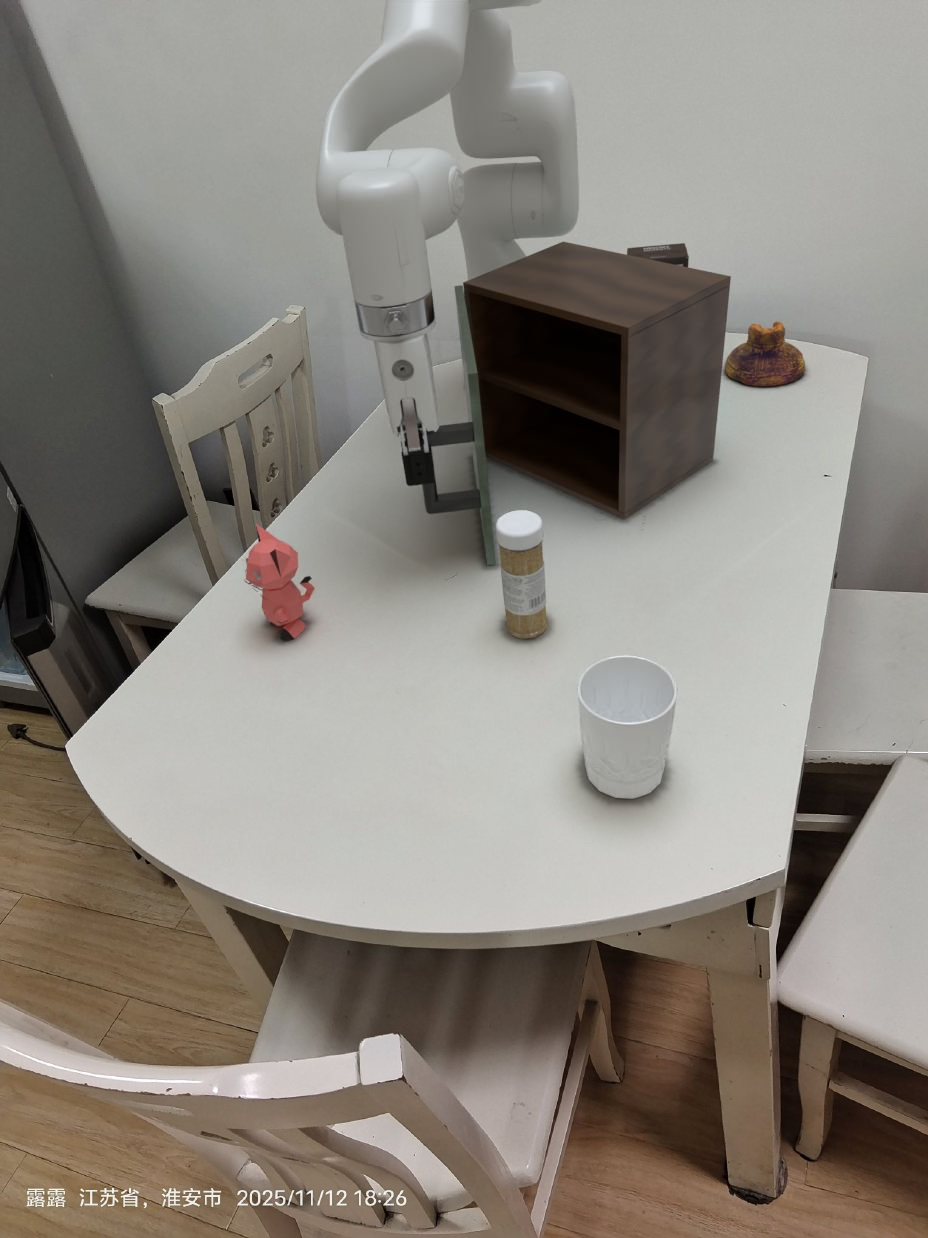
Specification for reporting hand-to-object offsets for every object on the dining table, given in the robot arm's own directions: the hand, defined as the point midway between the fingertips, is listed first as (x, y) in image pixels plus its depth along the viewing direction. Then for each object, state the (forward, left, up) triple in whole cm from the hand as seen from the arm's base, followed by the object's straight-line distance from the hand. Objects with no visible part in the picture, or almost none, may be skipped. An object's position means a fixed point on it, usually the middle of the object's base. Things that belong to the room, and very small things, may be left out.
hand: (420, 476), depth 94 cm
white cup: (+37, -9, -12) cm, 40 cm away
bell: (+2, +66, -12) cm, 67 cm away
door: (-6, +9, -11) cm, 16 cm away
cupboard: (-1, +30, -12) cm, 32 cm away
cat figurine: (-3, -18, -12) cm, 22 cm away
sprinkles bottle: (+17, -1, -12) cm, 21 cm away
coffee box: (-16, +62, -12) cm, 65 cm away
